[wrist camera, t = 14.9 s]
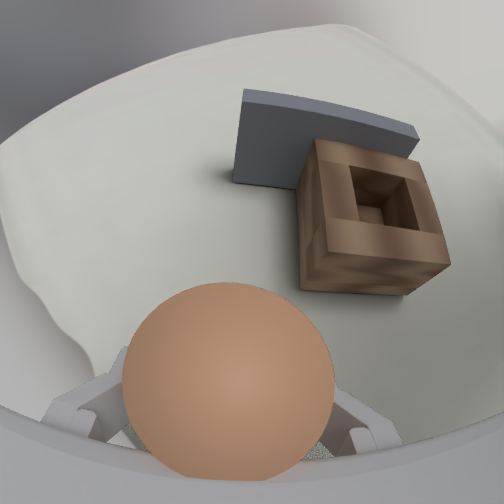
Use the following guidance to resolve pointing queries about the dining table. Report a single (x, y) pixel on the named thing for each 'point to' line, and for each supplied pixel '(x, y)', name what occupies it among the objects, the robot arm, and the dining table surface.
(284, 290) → the dining table surface
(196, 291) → the dowel
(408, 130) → the wall
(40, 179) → the dining table surface
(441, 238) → the socket block
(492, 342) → the dining table surface
